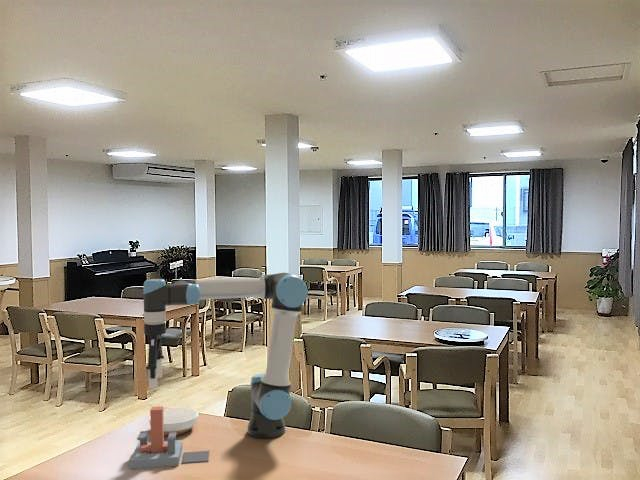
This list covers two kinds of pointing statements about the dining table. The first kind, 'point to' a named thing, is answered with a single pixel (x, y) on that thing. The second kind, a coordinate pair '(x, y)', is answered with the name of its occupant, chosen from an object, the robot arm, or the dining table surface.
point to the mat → (195, 457)
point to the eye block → (157, 459)
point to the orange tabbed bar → (156, 432)
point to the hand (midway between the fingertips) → (155, 382)
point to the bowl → (178, 420)
